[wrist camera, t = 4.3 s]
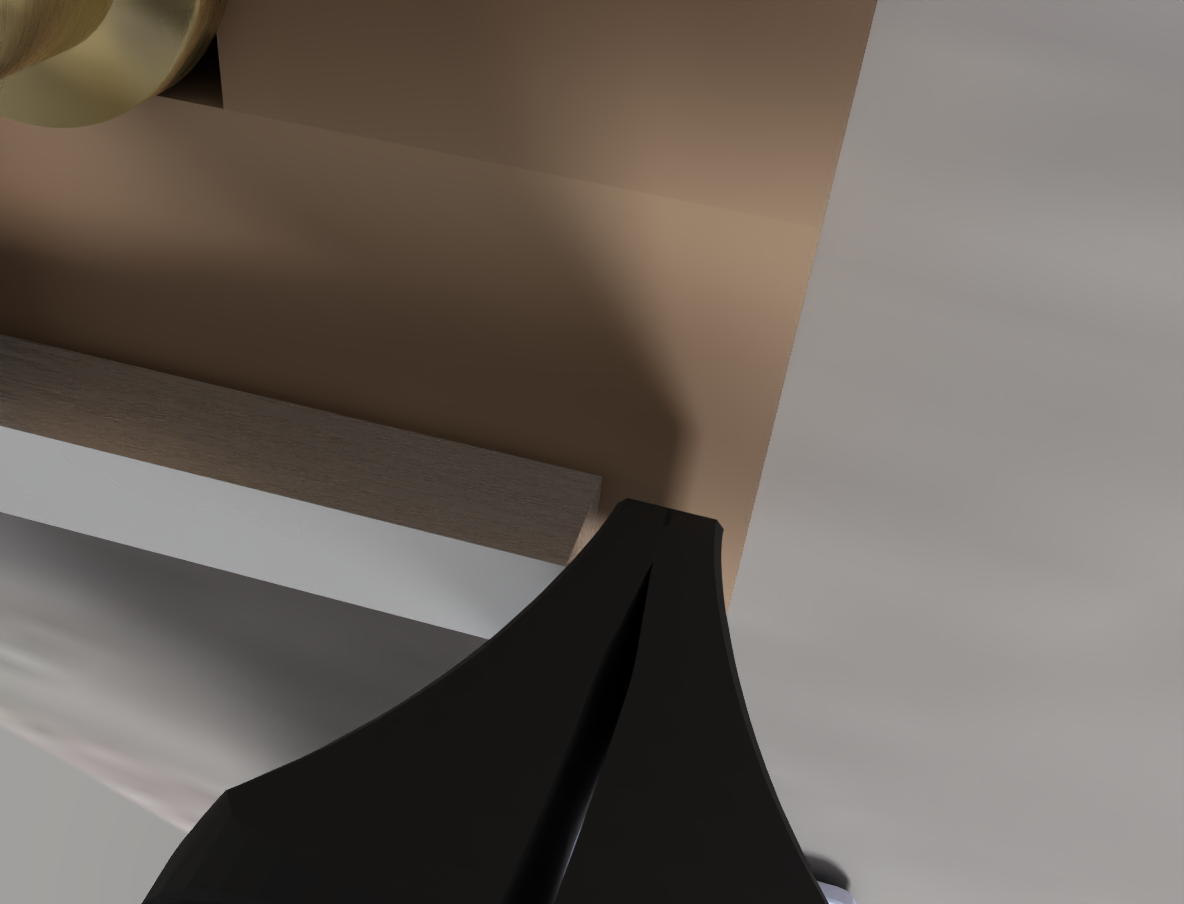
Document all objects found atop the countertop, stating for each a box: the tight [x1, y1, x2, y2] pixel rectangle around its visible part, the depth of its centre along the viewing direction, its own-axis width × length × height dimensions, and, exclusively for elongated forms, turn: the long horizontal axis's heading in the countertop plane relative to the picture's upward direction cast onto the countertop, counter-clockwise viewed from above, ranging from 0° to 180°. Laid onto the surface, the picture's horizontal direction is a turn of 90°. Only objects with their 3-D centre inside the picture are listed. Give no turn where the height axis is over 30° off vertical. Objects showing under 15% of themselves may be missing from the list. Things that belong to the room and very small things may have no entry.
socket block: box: [0, 0, 877, 616], centre depth 14 cm, size 12×13×3 cm
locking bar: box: [0, 334, 602, 639], centre depth 14 cm, size 5×11×2 cm, turn 85°
